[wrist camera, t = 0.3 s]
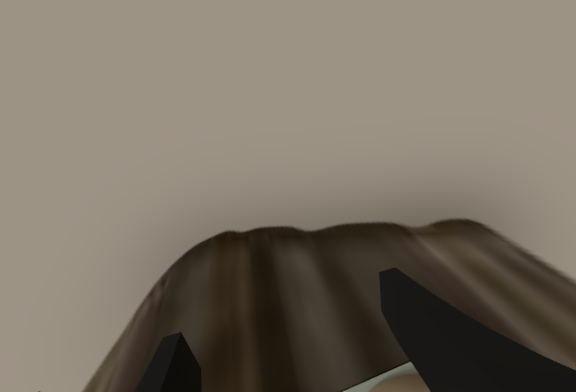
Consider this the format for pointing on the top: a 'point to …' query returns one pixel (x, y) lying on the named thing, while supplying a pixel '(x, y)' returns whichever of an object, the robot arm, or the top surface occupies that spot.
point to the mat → (384, 378)
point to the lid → (403, 384)
